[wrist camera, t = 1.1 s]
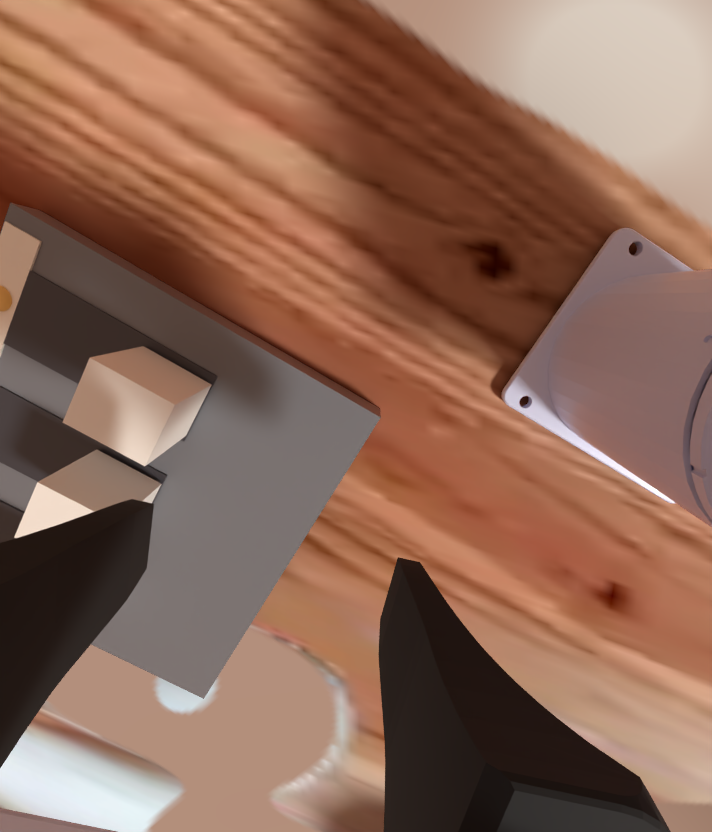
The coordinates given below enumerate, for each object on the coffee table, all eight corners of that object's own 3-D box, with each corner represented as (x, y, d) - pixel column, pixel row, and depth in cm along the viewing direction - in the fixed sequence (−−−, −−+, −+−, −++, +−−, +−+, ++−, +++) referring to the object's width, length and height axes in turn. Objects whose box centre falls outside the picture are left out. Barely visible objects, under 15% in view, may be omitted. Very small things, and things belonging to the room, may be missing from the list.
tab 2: (161, 483, 19) (117, 523, 16) (139, 528, 19) (91, 575, 16) (96, 449, 18) (37, 482, 15) (75, 495, 19) (14, 537, 16)
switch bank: (379, 408, 19) (380, 418, 18) (214, 674, 24) (202, 701, 22) (39, 210, 18) (6, 201, 16) (-75, 532, 22) (-111, 551, 20)
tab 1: (211, 384, 18) (175, 404, 14) (186, 436, 18) (145, 466, 15) (143, 346, 17) (89, 357, 14) (119, 399, 18) (62, 422, 15)
